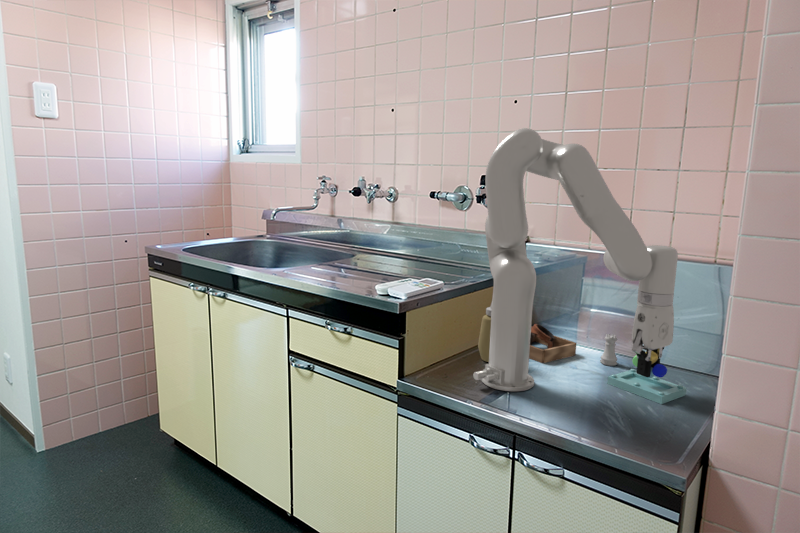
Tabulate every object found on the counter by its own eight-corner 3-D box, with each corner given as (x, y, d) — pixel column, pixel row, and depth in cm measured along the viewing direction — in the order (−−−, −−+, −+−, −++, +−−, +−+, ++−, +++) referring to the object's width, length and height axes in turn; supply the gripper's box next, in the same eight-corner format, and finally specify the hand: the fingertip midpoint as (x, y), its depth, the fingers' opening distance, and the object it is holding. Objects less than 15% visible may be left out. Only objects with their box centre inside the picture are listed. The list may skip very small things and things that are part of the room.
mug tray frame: (542, 363, 145) (543, 351, 144) (500, 347, 158) (501, 335, 158) (576, 355, 153) (577, 343, 152) (534, 340, 166) (534, 329, 165)
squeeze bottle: (507, 366, 142) (511, 299, 139) (476, 363, 144) (480, 298, 141) (506, 356, 150) (510, 293, 147) (477, 354, 151) (480, 291, 148)
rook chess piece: (618, 367, 144) (621, 338, 142) (601, 365, 145) (603, 336, 143) (615, 361, 148) (618, 333, 147) (598, 360, 149) (601, 332, 148)
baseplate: (661, 404, 120) (662, 394, 120) (607, 383, 132) (608, 374, 131) (685, 395, 126) (686, 386, 125) (631, 376, 137) (632, 367, 137)
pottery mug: (524, 342, 165) (540, 321, 162) (547, 363, 159) (563, 341, 157) (504, 341, 156) (521, 318, 153) (528, 362, 150) (545, 340, 148)
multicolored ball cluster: (667, 381, 125) (670, 354, 124) (661, 383, 124) (663, 356, 123) (636, 371, 132) (638, 345, 131) (629, 372, 131) (632, 347, 130)
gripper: (649, 306, 118) (641, 386, 121) (690, 298, 126) (681, 372, 129) (619, 299, 124) (612, 375, 127) (659, 292, 133) (652, 363, 136)
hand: (647, 373), depth 128 cm, fingers closed on multicolored ball cluster, 2 cm apart
